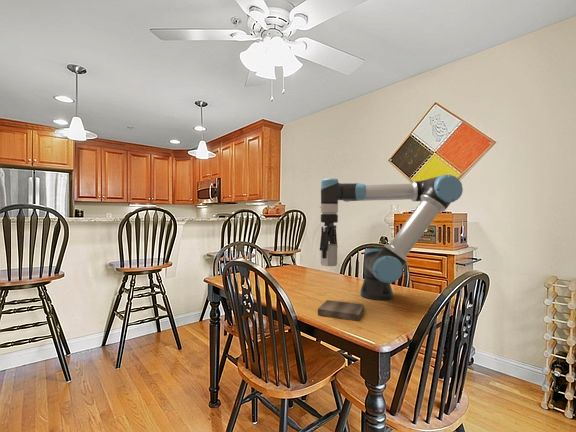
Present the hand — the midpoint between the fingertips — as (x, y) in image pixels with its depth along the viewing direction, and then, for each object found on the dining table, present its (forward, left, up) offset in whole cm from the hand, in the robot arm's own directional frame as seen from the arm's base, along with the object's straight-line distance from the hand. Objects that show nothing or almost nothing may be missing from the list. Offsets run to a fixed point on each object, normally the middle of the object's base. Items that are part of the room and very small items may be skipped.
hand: (328, 263), depth 134 cm
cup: (0, 0, 0) cm, 0 cm away
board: (-8, +10, -18) cm, 22 cm away
